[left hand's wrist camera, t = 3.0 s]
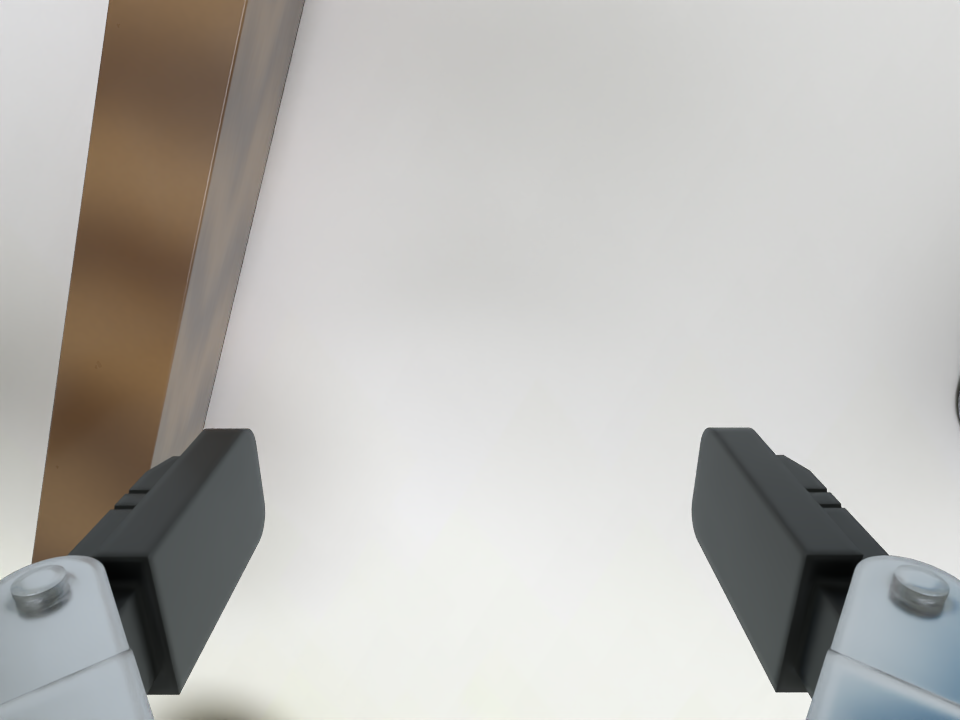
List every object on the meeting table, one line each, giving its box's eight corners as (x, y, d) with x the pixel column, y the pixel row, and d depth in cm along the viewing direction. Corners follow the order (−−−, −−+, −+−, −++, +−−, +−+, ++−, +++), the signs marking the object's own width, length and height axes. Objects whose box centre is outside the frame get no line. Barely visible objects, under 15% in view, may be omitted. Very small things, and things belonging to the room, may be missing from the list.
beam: (359, -915, 19) (298, -1395, 13) (502, -832, 19) (508, -1254, 13) (96, 541, 38) (22, 621, 32) (171, 564, 39) (113, 646, 33)
